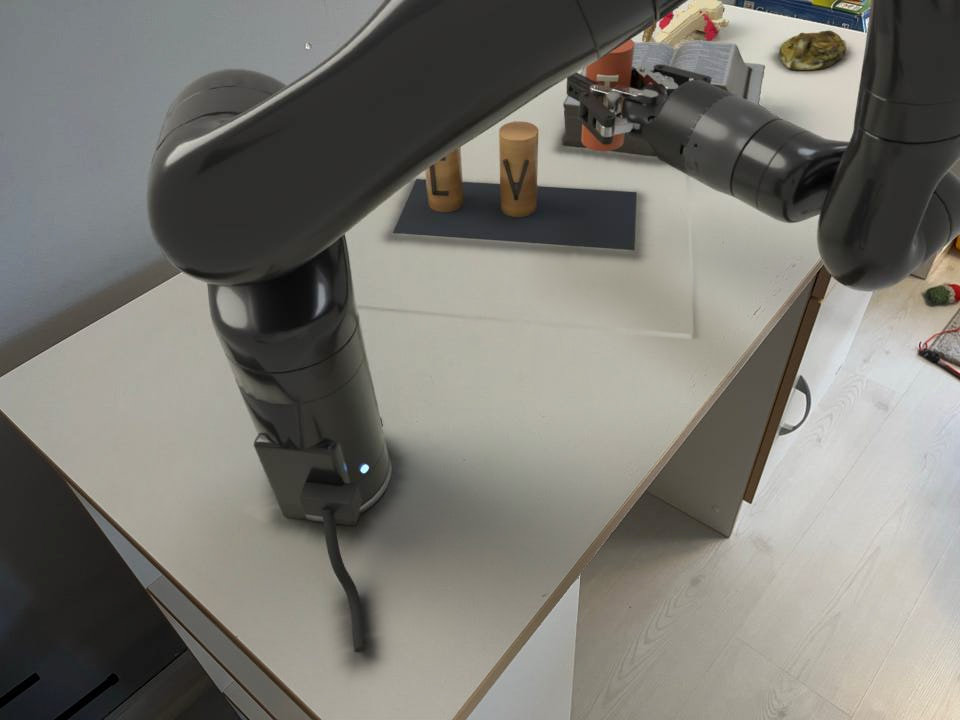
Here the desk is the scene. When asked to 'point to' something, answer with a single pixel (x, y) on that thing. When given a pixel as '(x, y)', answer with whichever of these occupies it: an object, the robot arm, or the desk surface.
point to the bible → (691, 56)
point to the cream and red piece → (689, 23)
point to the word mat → (528, 217)
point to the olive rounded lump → (812, 50)
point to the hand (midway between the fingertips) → (589, 75)
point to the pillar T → (610, 74)
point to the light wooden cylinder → (518, 168)
